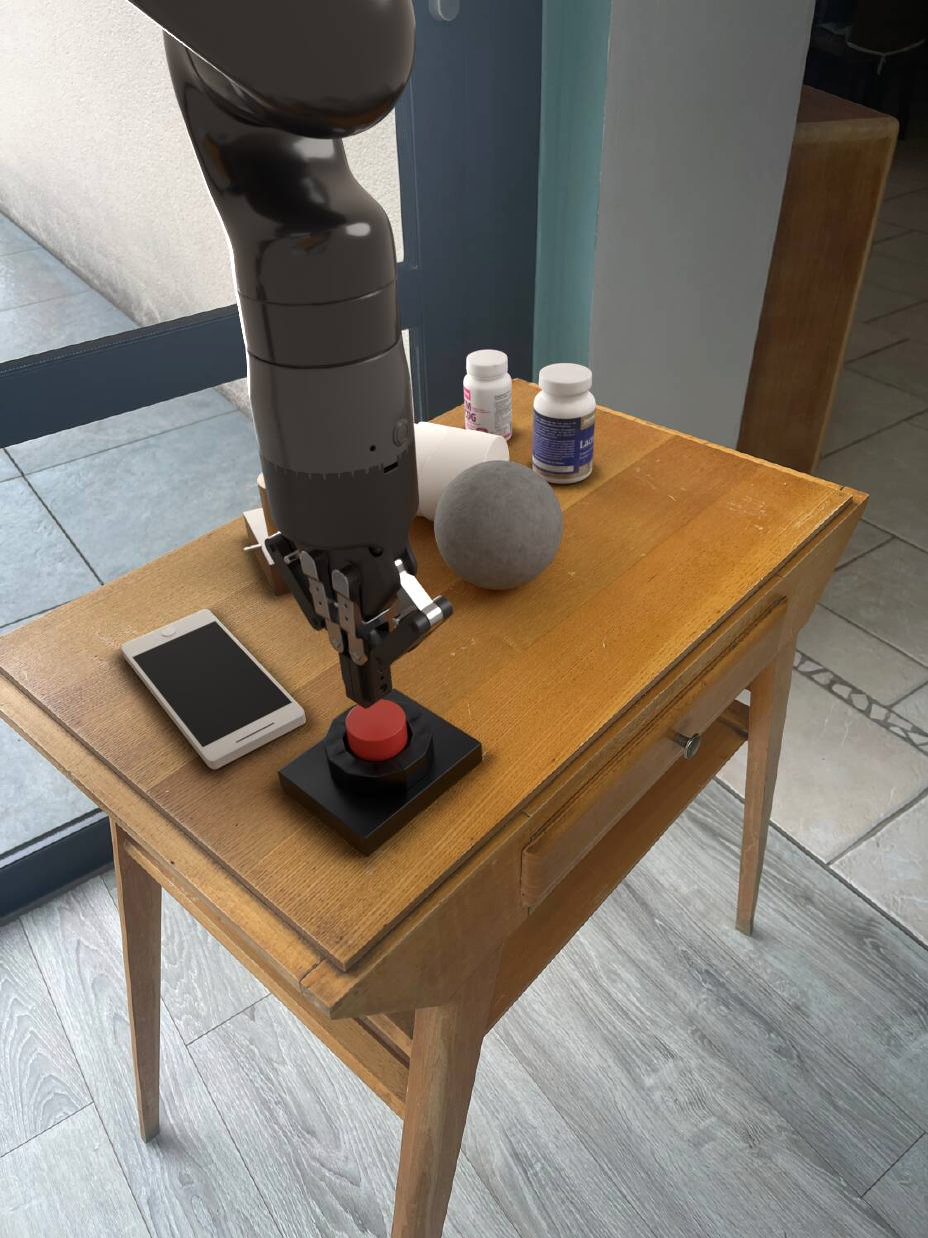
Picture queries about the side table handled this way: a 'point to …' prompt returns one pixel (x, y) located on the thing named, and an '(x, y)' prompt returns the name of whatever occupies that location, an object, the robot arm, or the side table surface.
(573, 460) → the pill bottle
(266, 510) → the knob
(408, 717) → the button box
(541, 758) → the side table surface
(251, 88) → the robot arm
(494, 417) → the pill bottle
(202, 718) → the smartphone
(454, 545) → the decorative ball
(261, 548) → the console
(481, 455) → the mug
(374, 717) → the button
